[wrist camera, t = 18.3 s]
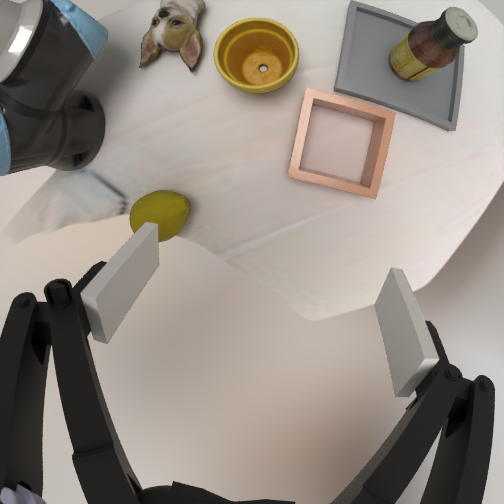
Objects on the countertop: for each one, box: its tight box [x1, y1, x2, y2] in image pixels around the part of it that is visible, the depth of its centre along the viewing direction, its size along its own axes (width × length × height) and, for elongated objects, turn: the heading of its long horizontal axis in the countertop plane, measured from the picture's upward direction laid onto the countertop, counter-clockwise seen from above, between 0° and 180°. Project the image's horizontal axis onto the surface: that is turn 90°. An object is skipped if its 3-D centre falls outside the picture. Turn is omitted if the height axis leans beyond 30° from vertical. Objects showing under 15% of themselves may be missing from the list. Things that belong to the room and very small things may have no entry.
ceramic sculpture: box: [139, 0, 205, 72], centre depth 35 cm, size 11×9×15 cm
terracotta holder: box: [288, 88, 395, 199], centre depth 39 cm, size 12×12×6 cm
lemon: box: [130, 190, 190, 242], centre depth 45 cm, size 11×8×8 cm
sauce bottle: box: [389, 7, 478, 81], centre depth 26 cm, size 7×6×20 cm
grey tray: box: [334, 0, 465, 131], centre depth 35 cm, size 20×16×2 cm
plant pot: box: [214, 18, 299, 93], centre depth 35 cm, size 10×10×10 cm
